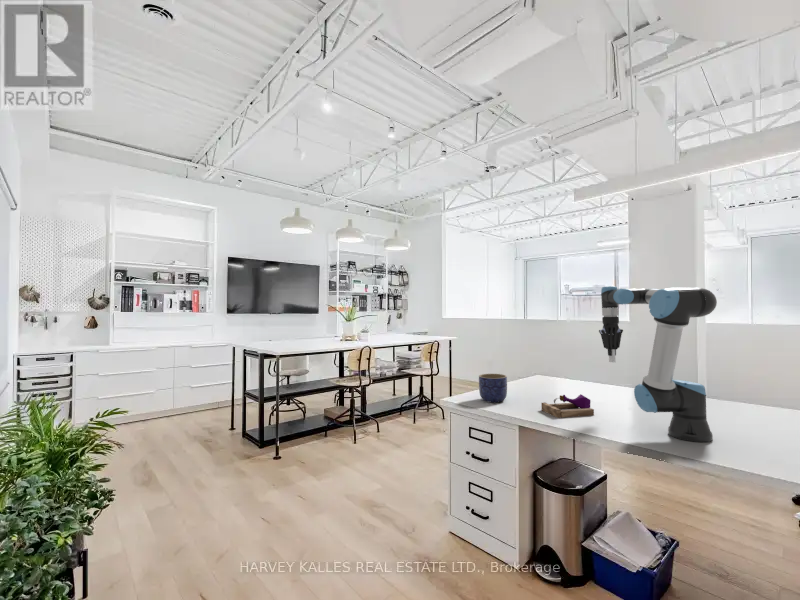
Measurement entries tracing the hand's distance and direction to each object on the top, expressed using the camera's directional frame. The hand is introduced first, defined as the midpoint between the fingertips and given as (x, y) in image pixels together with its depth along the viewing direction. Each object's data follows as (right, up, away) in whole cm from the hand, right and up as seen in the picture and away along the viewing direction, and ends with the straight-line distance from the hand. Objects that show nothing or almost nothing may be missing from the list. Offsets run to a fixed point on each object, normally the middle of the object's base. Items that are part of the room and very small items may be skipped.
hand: (612, 361), depth 202 cm
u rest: (-22, -27, +4) cm, 35 cm away
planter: (-54, -29, +33) cm, 69 cm away
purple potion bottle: (-9, -23, +7) cm, 25 cm away
